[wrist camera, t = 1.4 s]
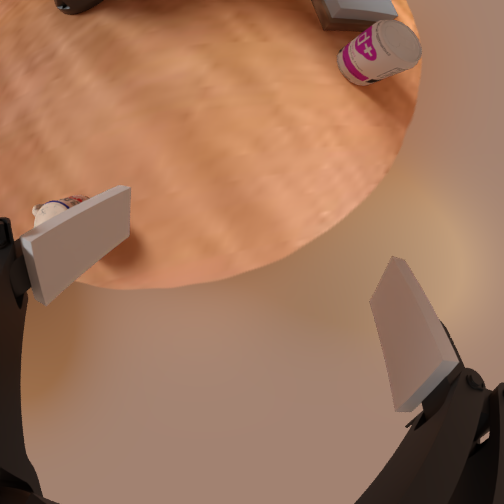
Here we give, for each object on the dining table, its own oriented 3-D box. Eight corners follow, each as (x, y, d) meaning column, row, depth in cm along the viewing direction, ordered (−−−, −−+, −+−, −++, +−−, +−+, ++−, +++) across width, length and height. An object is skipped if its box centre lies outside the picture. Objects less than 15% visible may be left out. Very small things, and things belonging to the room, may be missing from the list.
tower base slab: (300, -20, 30) (305, -31, 26) (360, -15, 31) (368, -23, 27) (322, 31, 35) (330, 22, 31) (383, 34, 35) (394, 28, 31)
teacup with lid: (108, 206, 41) (76, 221, 30) (92, 251, 43) (61, 277, 32) (58, 178, 38) (19, 186, 27) (45, 223, 40) (8, 241, 29)
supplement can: (334, 79, 38) (378, 53, 24) (335, 42, 35) (376, 7, 21) (374, 92, 39) (426, 75, 25) (374, 55, 36) (422, 30, 22)
